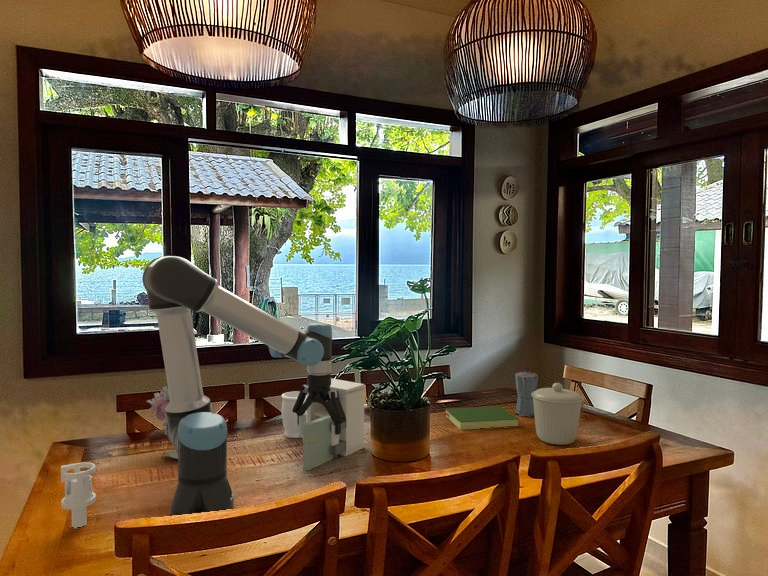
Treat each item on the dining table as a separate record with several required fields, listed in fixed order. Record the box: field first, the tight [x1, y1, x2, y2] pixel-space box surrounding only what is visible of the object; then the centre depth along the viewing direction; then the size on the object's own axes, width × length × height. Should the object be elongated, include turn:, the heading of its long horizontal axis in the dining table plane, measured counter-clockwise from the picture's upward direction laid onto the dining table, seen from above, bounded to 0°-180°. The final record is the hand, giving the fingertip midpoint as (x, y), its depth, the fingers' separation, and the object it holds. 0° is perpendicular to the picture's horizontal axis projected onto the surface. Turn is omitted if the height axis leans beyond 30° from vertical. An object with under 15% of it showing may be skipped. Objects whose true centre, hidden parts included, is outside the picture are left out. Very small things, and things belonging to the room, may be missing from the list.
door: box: [301, 414, 339, 471], centre depth 164 cm, size 15×4×14 cm, turn 146°
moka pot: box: [514, 367, 539, 417], centre depth 220 cm, size 10×15×20 cm, turn 163°
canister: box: [531, 382, 585, 446], centre depth 188 cm, size 18×18×21 cm
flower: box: [146, 385, 213, 460], centre depth 171 cm, size 20×22×25 cm
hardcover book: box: [444, 405, 519, 431], centre depth 210 cm, size 25×19×4 cm
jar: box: [281, 390, 307, 439], centre depth 190 cm, size 11×10×15 cm
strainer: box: [60, 461, 97, 529], centre depth 123 cm, size 7×7×15 cm
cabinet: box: [307, 377, 366, 457], centre depth 176 cm, size 16×17×22 cm
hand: (318, 439), depth 163 cm, fingers open, 13 cm apart
